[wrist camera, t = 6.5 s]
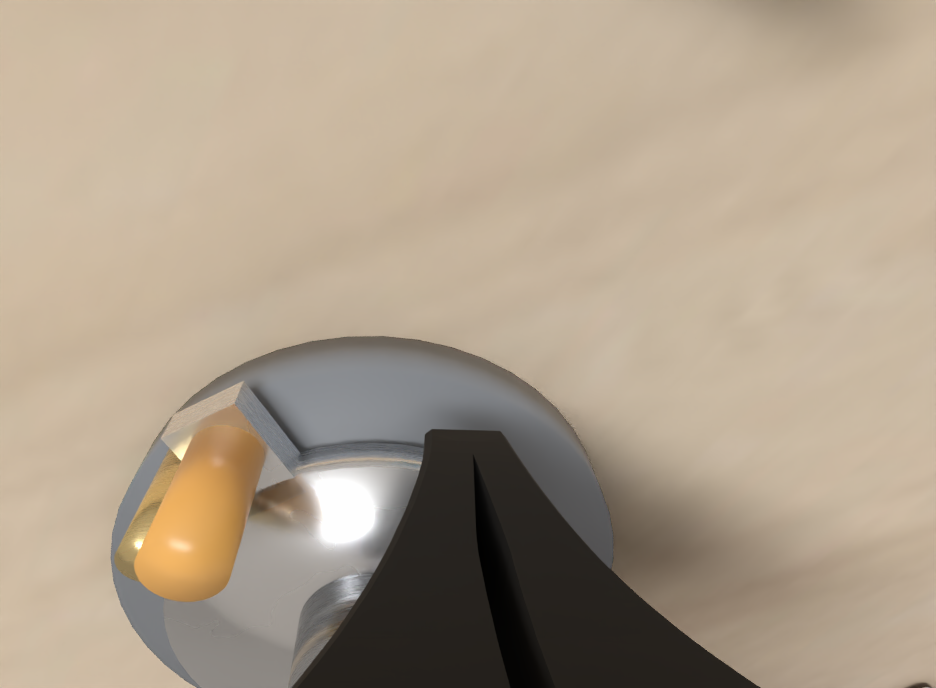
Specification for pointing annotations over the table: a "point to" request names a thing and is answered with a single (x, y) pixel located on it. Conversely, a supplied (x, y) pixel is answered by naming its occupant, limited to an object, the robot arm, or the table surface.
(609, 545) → the post base
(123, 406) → the table surface
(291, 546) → the flange
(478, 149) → the table surface
